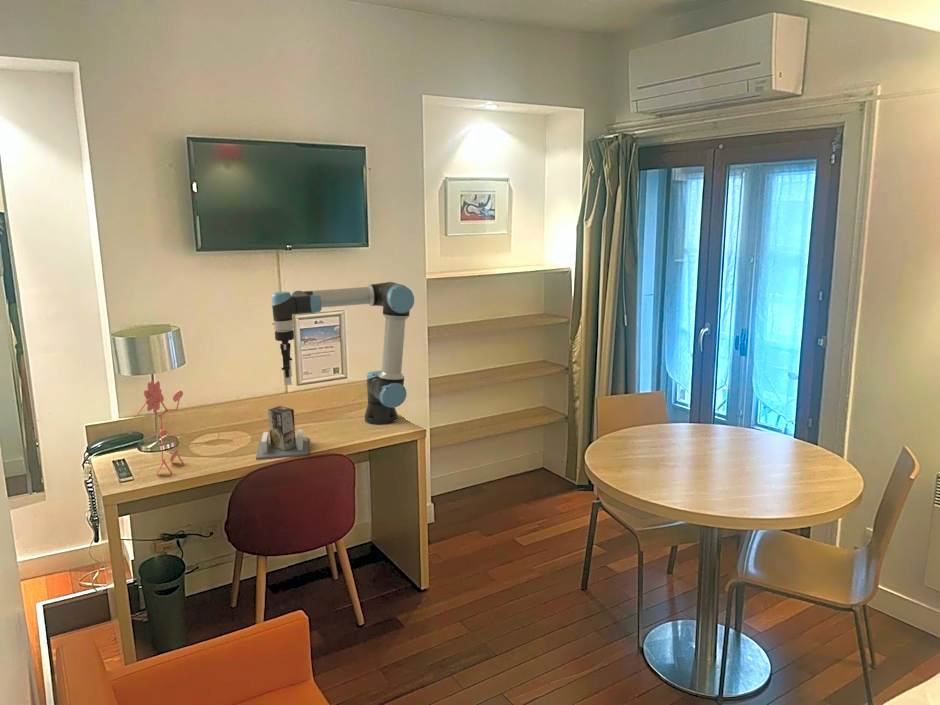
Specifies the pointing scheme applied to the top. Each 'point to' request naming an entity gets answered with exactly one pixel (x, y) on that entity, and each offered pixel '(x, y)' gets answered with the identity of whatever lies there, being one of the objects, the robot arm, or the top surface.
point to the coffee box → (282, 427)
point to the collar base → (271, 452)
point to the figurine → (153, 402)
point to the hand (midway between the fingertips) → (288, 380)
